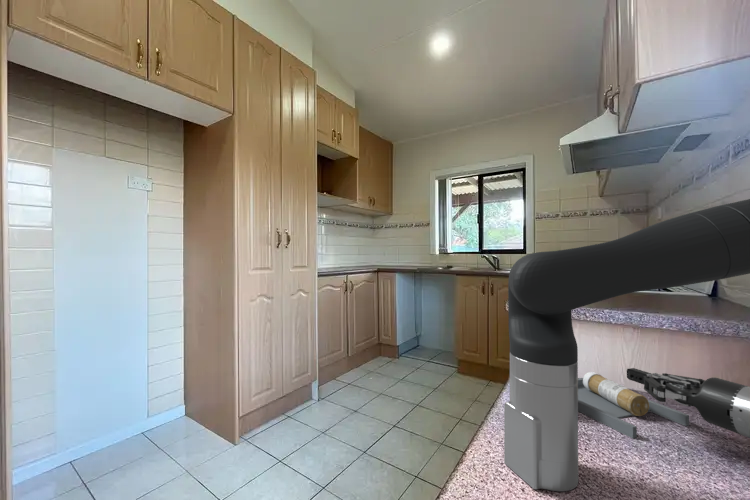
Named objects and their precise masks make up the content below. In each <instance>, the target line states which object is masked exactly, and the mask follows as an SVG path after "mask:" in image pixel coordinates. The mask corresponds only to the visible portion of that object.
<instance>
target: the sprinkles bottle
mask: <svg viewBox="0 0 750 500" xmlns="http://www.w3.org/2000/svg"><path fill="white" fill-rule="evenodd" d="M582 378H583V384H584V386H585V388H587V389H588V390H590V391H592V392H594V393H597V394H598V395H600V396H602V397H603V398H605V399H607V400H608V401H610V402H612V403H614V404H616V405H617V406H619V407H621V408H623V409H625V410H627V411H629V412H630V413H632V414H633V415H634V416H636V417H643V416H645V415H647V414H648V413H647V412H648V409H649V402H648V400H649V399H648V398H647V397H646V396H644V395H643V394H639V393H637V392H635V391H633V390H632V389H630V388H628V387H626V386H624V385H621V384H620V383H617V382H616V381H613V380H611V379H608V378H606V377H604V376H602V374H599V373H598V372H594V371H588V372H587V373H585V374H584V375H583V377H582Z"/></svg>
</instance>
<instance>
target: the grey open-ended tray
mask: <svg viewBox="0 0 750 500" xmlns="http://www.w3.org/2000/svg"><path fill="white" fill-rule="evenodd" d="M647 400H648V402H649V409H648V412H647V413H646V414H648V413H652V414H654V415H657V416H659V417H662V418H665V419H668V420H669V421H672V422H675V423H677V424H680V425H683V426H685V427H688V426H690V414H687V413H684V412H682V411H680V410H677V409H674V408H671V407H669V406H666V405H663V404H660V403H658V402H656V401H652V400H650V399H647ZM578 413H580V414H583V415H585V416H587V417H588V418H591V419H592V420H595V421H597V422H598V423H601V424H602V425H605V426H606V427H609V428H610V429H613V430H615V431H617V432H619V433H620V434H623V435H625V436H627V437H629V438H630V439H637V437H638V436H637V435H638V431H637V430H638V429H637V427H638V426H637V425H636V426H635V424H631V423H629V422H627V421H626V420H623V418H628V417H632V416H633V417H634V416H635V415H633V414H632V413H630V412H629V411H627V410H625V409H623V408H621V407H619V406H617V405H616V404H614V403H612V402H610V401H608V400H607V399H605V398H603V397H602V396H600V395H598V394H597V393H594V392H592V391H590V390H588V389H587V388H585V386H584V384H583V377H578Z"/></svg>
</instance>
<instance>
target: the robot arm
mask: <svg viewBox="0 0 750 500" xmlns="http://www.w3.org/2000/svg"><path fill="white" fill-rule="evenodd" d="M509 271H510V272H509V274H508V280H507V281H508V283H507V287H508V289H507V290H508V291H507V294H508V295H507V296H508V297H507V299H508V309H507V311H508V337H509V401H505V402H504V406H503V407H504V408H503V409H504V410H503V411H504V412H503V413H504V414H503V415H504V419H503V420H504V421H503V424H504V425H503V426H504V428H503V429H504V432H503V433H504V435H503V440H504V441H503V442H504V444H503V448H504V450H503V453H504V455H503V456H504V457H503V460H504V464H505V465H506V466H507V467H508V468H509V469H511V471H513V472H514V474H516V475H517V476H518V477H520V478H521V479H522V480H523V482H525V483H527V484H528V485H529V487H531V488H532V489H534V490H539V489H542V490H548V491H554V492H568V491H571V490H573V489H575V488H576V487H577V486H578V484H579V412H578V378H579V377H578V376H579V374H578V373H579V372H578V371H579V369H578V368H579V365H578V360H579V358H578V357H579V356H578V353H579V352H578V351H579V350H578V343H577V340H576V336H575V334H574V333H575V332H574V327H573V318H572V317H573V316H572V315H573V314H572V311H573V310H575V309H576V310H577V309H579V308H581V307H586V306H589V305H592V304H596V303H598V302H602V301H603V302H604V301H606V300H609V299H613V298H616V297H619V296H623V295H624V296H625V295H627V294H633V293H638V292H644V291H645V292H646V291H652V290H653V291H654V290H655V291H656V290H662V289H670V288H677V287H683V286H689V285H695V284H700V283H701V284H702V283H706V282H707V283H708V282H714V281H719V280H725V279H729V278H735V277H740V276H744V275H749V274H750V198H748V199H743V200H739V201H736V202H734V201H733V202H730V203H725V204H720V205H715V206H713V207H708V208H703V209H701V210H697V211H693V212H689V213H686V214H682V215H678V216H675V217H672V218H669V219H666V220H662V221H660V222H656V223H654V224H652V225H649V226H646V227H644V228H642V229H640V230H637V231H634V232H632V233H629V234H627V235H624V236H622V237H619V238H617V239H613V240H609V241H606V242H601V243H596V244H590V245H585V246H579V247H574V248H572V247H571V248H567V249H559V250H551V251H550V250H549V251H538V252H532V253H529V254H526V255H524V256H522V257H521V258H519V259H518V260H516V261H515V263H514V264H513V265H512V267H511V269H510V270H509ZM626 378H627V379H628V380H629V381H631V382H636V383H639V384H641V385H643V390H644V391H645V392H647V394H649V395H650V396H651V397H652V398H654V400H656V401H658V402H661V403H666V400H667V399H670V400H672V401H674V402H676V403H677V404H679V405H681V406H685V407H689V408H690V407H694V408H695V409H696V410H697V412H699V414H700V416H701V417H702V419H703V420H704V421H705V422H707V423H709V424H711V425H714V426H717V427H720V428H722V429H725V430H728V431H730V432H733V433H735V434H737V435H741V436H743V437H746V438H749V439H750V386H748V385H744V384H740V383H737V382H733V381H730V380H727V379H726V380H725V379H723V378H719V377H709V378H707V379H703V378H695V377H689V376H683V375H678V374H677V375H676V374H670V373H662V374H660V373H657V372H652V373H651V372H647V371H645V370H641V369H639V368H638V369H637V368H634V367H632V368H627V369H626Z"/></svg>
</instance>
